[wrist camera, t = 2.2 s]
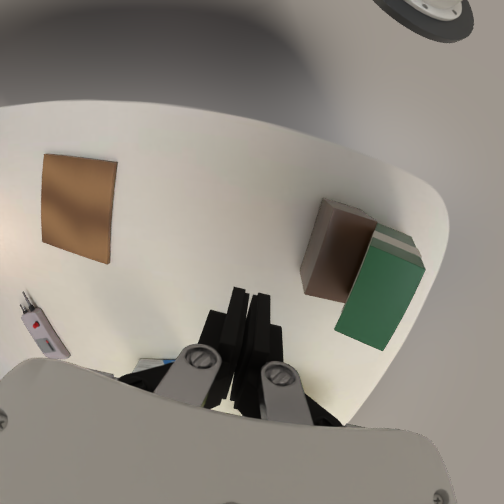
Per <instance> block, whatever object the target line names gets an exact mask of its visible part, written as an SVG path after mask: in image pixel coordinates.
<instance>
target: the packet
mask: <svg viewBox="0 0 504 504" xmlns="http://www.w3.org/2000/svg"><path fill="white" fill-rule="evenodd" d="M421 258H422V257H421V254H420V252H419V250H418V249H417V248H416V246H415V244H414V242H413V239H412V237H411V236H408V235H406V234H404V233H401V232H399V231H397V230H394V229H392V228H389V227H387V226H384V225H382V224H379V223H377V226H376V229H375V231H374V233H373V235H372V238H371V241H370V244H369V246H368V249H367V252H366V254H365V257H364V259H363V262H362V265H361V267H360V270H359V272H358V275H357V277H356V279H355V282H354V284H353V287H352V289H351V291H350V294H349V296H348V298H347V300H346V303H345V305H344V307H343V309H342V313H341V316H340V318H339V320H338V322H337V324H336V326H335V328H334V330H335V331H337V332H340V333H342V334H344V335H346V336H349V337H351V338H353V339H356V340H358V341H360V342H362V343H365V344H367V345H369V346H372V347H374V348H376V349H379V350H381V351H383V350H384V349H385V347H386V345H387V344H388V342H389V340H390V339H391V337H392V335H393V333H394V332H395V330H396V328H397V326H398V325H399V323H400V321H401V319H402V317H403V315H404V313H405V312H406V310H407V308H408V306H409V304H410V302H411V300H412V298H413V296H414V294H415V292H416V290H417V287H418V285H419V283H420V281H421V279H422V277H423V274H424V272H425V267H424V265H423V262H422V260H421Z"/></svg>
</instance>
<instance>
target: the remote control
mask: <svg viewBox="0 0 504 504" xmlns="http://www.w3.org/2000/svg"><path fill="white" fill-rule="evenodd" d="M23 295H24V297H25V299H26V301H27V303H28V305H29V310H28V311H27V310H26V308H25V306H24V309H25V311H24V309H23V308H22V306H21V304H20V307H21V308H22V310H23V313H24V314H23V315H22V317H21V319H22V321H23V323H24V325H25V326H26V328H27V329H28V331H29V333H30V334H31V336H32V337H33V339H34V341H35V342H36V344H37V345H38V347H39V348H40V349H41V351H42V352H43V354H44V355H45V356H46V357H48V358H50V359H66V358H69V357H70V356H71V355H70V354H69V352H68V351H67V350H66V348H65V347H64V345H63V344H62V342H61V341H60V339H59V338H58V336H57V335H56V333H55V332H54V330H53V328H52V327H51V325H50V324H49V322H48V320H47V319H46V317H45V315H44V314H43V312H42V310H41V309H40V308H34V306H33V305H32V304H31V303H30V301H29V300H28V298H27V297H26V295H25V293H24V291H23Z"/></svg>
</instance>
